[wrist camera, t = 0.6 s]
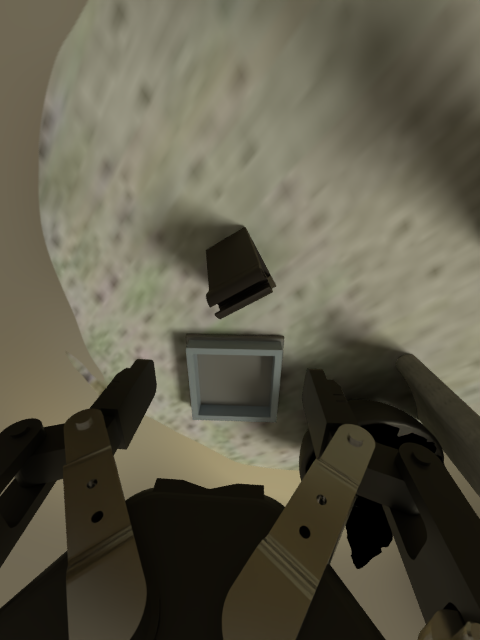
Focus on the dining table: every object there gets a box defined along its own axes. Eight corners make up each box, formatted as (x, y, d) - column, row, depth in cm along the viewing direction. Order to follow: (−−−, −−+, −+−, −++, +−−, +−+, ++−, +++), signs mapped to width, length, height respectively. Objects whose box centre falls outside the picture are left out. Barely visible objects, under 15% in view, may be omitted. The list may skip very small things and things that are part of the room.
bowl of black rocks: (382, 353, 40) (483, 466, 23) (418, 433, 47) (515, 566, 30) (270, 402, 45) (283, 525, 28) (317, 468, 52) (351, 599, 34)
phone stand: (206, 249, 34) (186, 271, 23) (245, 226, 33) (243, 238, 22) (239, 304, 37) (234, 346, 26) (276, 285, 36) (287, 321, 25)
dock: (283, 336, 39) (286, 347, 36) (277, 409, 45) (279, 424, 42) (187, 334, 39) (181, 345, 36) (193, 407, 46) (190, 421, 43)
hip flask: (393, 359, 40) (511, 488, 22) (419, 348, 39) (565, 473, 21) (420, 423, 46) (533, 569, 28) (444, 415, 45) (577, 561, 27)
